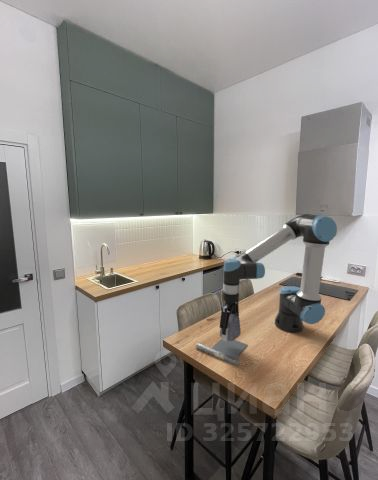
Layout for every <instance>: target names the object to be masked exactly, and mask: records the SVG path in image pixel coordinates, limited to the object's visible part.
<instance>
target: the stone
mask: <svg viewBox="0 0 378 480" xmlns="http://www.w3.org/2000/svg"><path fill="white" fill-rule="evenodd" d="M240 322H241V321H240V317H238V315H237V314H234V313H231V314H230V317H229V321H228V326H227V328H228V340H227V341H233V340H236V339H237V338H239V337H240V336H241V333H242V332H241V330H242V329H241V324H240ZM219 329H220V332H219V336H220V337H221V338H222V328H219Z"/></svg>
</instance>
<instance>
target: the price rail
mask: <svg viewBox="0 0 378 480" xmlns="http://www.w3.org/2000/svg"><path fill="white" fill-rule="evenodd" d="M195 348H196V349H198V350H200V351H202V352H204V353H207V354H209V355H212V357H213V356H214V357H215V358H218V359H220V360H223V361H225V362H227V363H230V364H232V365H234V366H236V367H237V366H239V363H240V360H239V359H238V358H236V359H235V358H233V357H231V356H228V355H226V354H223V353H221V352H218V351H216V350H214V349H211V348H212V347H208V346H206V345H204V344H201V343H199V342H197V343H196V344H195Z"/></svg>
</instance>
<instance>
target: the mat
mask: <svg viewBox="0 0 378 480" xmlns="http://www.w3.org/2000/svg"><path fill="white" fill-rule="evenodd" d="M247 346H248V344H247V343H244V342H242V341H239V340H236V339H235V340H233V341H224V340H222V338H221V339H219V340H218V341H217V342H216V343H215V344H214V345H213V346H212V347H210V348H211V349H214V350H216V351H218V352H221V353H223V354H226V355H228V356H231V357H233V358H235V359H238V357H239V356H240V355H241V353H242V352H243V351H244V350H245V349H246V347H247Z"/></svg>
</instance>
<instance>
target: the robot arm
mask: <svg viewBox="0 0 378 480" xmlns="http://www.w3.org/2000/svg"><path fill="white" fill-rule="evenodd" d="M337 232H338V227H337V224H336V221H335V220H334V219H333V218H332V217H329V216H326V215H323V214H322V215H320V214H319V215H318V214H311V213H310V214H309V213H305V214H304V213H303V214H300V215H298V216H295V217H294V218H292V219H290V220H289V221H287V222H285V223H284V224H282V226H281V228H280V229H279V230H277V231H275V232H273V233H272V234H271V235H269V236H268V237H267V238H265V239H264V240H262V241H260V242H259V243H257V244H256V245H253V247H251V248H249V249H248V250H247V251H245V252H244V253H242V254H240V255H239V254H236V255H234V256H232V258H227V259H225V260H224V263H223V269H222V270H223V283H222V291H223V292H222V300H223V301H224V306H221V310H220V311H221V313H220V318H219V319H220V320H219V329H221V328H222V337H221V339H222V340H224V341H227V340H228V328H227V326H228V321H229V317H230V314H231V313H234V314H237V315H238V317H239V316H240V310H239V308H240V307H239V300H240V299H239V298H240V297H239V296H240V284H241V283H240V282H241V280H243V281H244V280H257V279H258V280H259V279H262V278H264V277H265V275H266V268H265V265H264V264H263V263H262V262H259V261H260V260H262V259H263V258H265V257H266V256H268V255H270V254H271V253H273V252H274V251H276V250H277V249H278V248H280V247H282V246H283V245H284V244H286V243H287V242H289V241H291V240H293V241H294V240H296V239H297V238H300V237H302V242H303V244H304V245H305V248H304V257H303V265H302V272H301V281H300V287H298V286H293V285H286V286H285V285H284V286H282V287H281V288H280V290H279V304H278V312H277V314H276V316H275V319H274V326H276V328H278V329H279V330H282V331H285V332H288V333H299V332H302V331H303V329H304V323H306V324H308V325H315V324H318V323H319V322H320V321H322V320H323V318H324V317H325V315H326V309H325V306H323V304H322V296H321V295H320V294H319V293H320V286H321V279H322V271H323V265H324V257H325V251H326V247H327V246H330V241H332V240H334V238H335V237H336V235H337ZM239 318H240V317H239ZM303 322H304V323H303Z"/></svg>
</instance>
